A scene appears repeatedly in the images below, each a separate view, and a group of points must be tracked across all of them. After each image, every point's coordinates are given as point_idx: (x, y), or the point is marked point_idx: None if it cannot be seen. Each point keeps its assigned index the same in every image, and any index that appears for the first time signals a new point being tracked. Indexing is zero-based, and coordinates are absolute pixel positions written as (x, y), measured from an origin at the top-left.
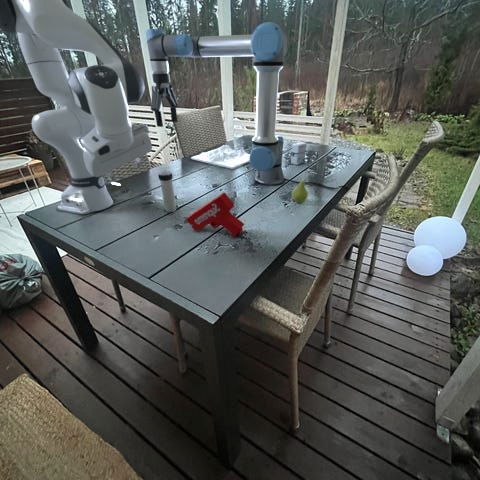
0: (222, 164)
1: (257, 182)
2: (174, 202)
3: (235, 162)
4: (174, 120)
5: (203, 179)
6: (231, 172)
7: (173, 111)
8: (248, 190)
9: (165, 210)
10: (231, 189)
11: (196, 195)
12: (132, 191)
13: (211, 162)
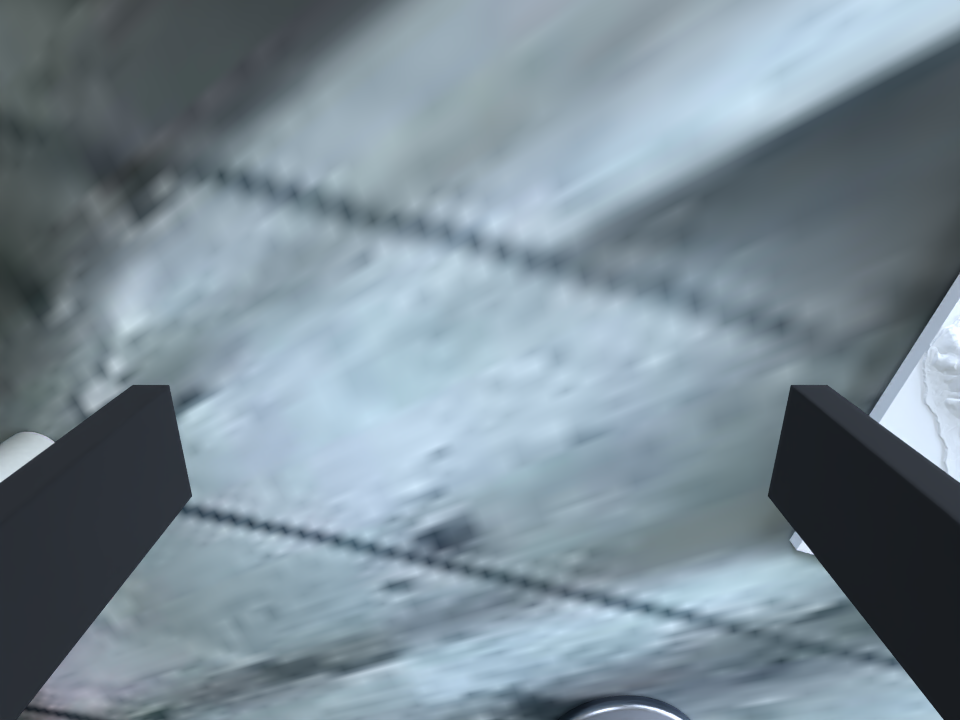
0: None
1: (563, 715)
2: None
3: None
4: (792, 461)
5: (536, 430)
6: (720, 547)
7: (933, 621)
8: (444, 699)
9: (9, 437)
10: (427, 629)
11: (269, 498)
12: (112, 29)
13: (919, 355)
